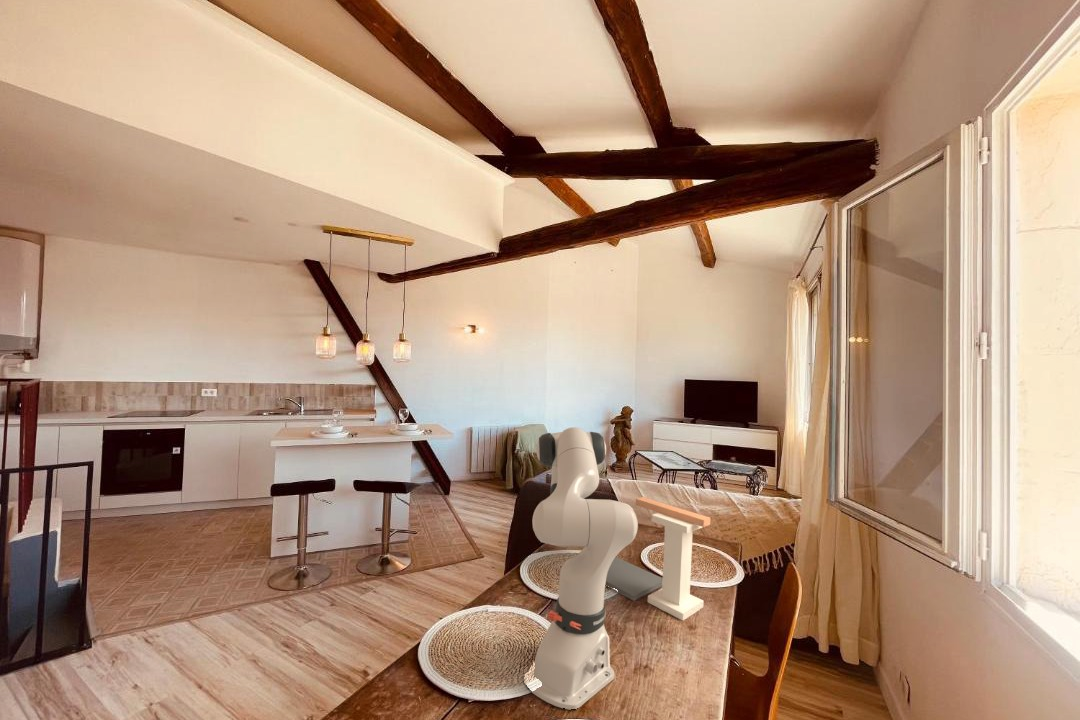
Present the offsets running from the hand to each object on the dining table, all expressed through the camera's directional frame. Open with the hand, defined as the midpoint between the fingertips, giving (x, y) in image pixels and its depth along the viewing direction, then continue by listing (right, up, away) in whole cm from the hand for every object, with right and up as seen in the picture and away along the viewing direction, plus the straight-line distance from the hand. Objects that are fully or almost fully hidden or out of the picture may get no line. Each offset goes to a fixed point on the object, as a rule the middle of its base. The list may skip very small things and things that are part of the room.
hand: (623, 512), depth 147 cm
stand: (+13, -23, -16) cm, 31 cm away
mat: (-2, -22, 0) cm, 22 cm away
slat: (+12, +4, -13) cm, 19 cm away
